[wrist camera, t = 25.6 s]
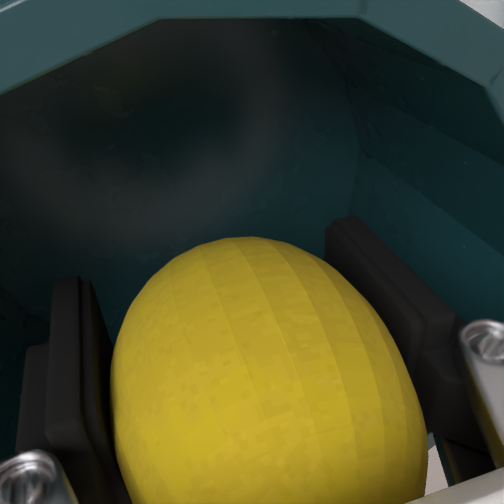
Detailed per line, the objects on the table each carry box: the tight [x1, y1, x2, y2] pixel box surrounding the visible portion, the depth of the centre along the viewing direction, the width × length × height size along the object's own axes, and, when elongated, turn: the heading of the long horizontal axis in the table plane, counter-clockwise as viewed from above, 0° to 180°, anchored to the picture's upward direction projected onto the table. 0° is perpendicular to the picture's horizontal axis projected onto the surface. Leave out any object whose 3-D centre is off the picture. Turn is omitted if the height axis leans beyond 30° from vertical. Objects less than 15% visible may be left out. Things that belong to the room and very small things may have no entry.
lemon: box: [109, 236, 428, 504], centre depth 9 cm, size 6×6×8 cm
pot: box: [0, 0, 504, 461], centre depth 13 cm, size 15×20×8 cm
